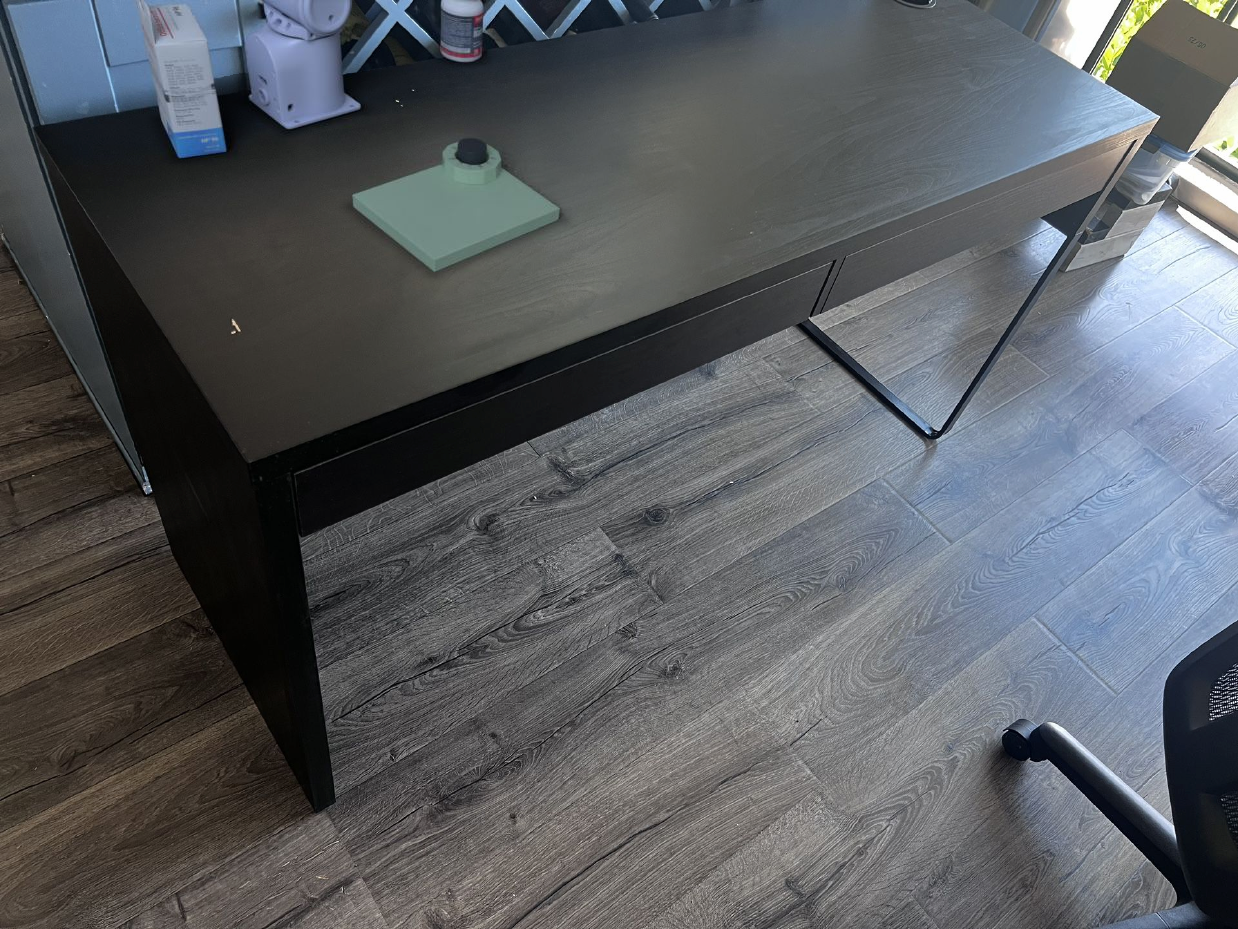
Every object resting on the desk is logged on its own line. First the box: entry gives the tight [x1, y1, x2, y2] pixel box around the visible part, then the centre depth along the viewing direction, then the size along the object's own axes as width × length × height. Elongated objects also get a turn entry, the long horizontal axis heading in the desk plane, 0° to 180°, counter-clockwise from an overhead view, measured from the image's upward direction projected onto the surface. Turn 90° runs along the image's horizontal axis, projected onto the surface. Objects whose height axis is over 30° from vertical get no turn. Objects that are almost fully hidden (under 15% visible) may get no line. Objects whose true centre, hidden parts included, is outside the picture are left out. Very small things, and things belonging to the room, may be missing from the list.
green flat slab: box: [351, 141, 561, 273], centre depth 94 cm, size 16×14×3 cm
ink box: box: [135, 0, 227, 159], centre depth 93 cm, size 8×5×15 cm, turn 29°
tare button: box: [457, 137, 488, 165], centre depth 97 cm, size 3×3×2 cm
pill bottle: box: [439, 0, 485, 63], centre depth 116 cm, size 5×5×9 cm
